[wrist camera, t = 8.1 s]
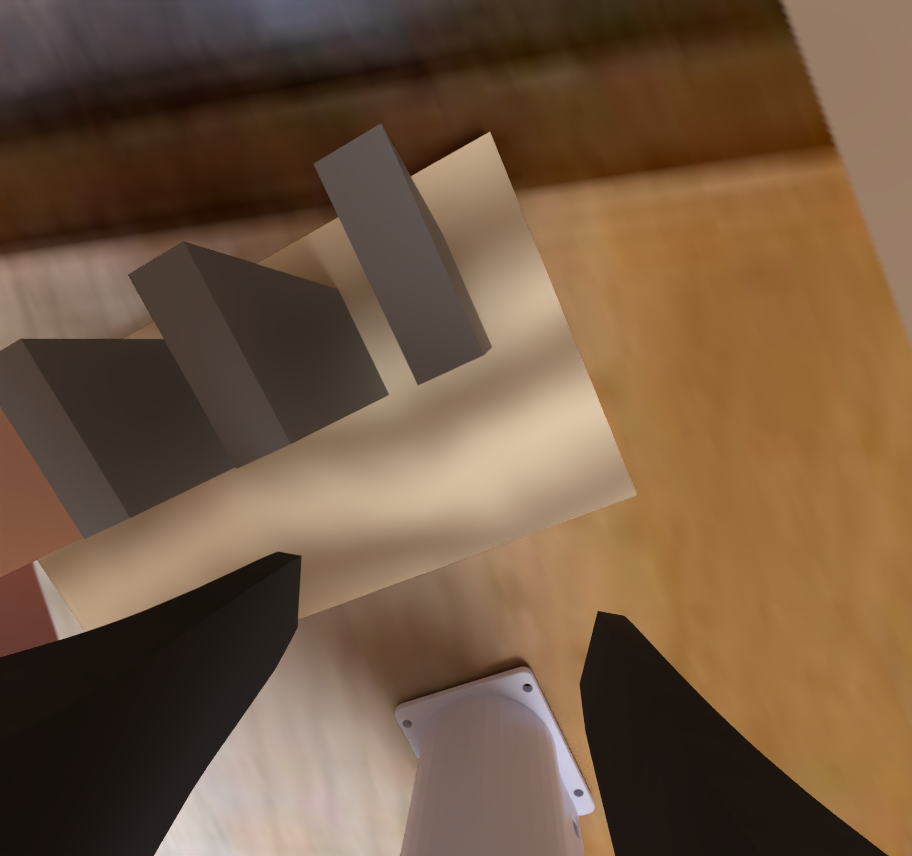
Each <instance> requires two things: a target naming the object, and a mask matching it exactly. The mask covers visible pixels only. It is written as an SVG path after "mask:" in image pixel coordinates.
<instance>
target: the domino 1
mask: <svg viewBox="0 0 912 856" xmlns="http://www.w3.org/2000/svg"><path fill="white" fill-rule="evenodd" d="M82 538H83V536H82V535H81V533H80V531H79V530H78V528H77V527H76V525H75V524H74V522H73V520H72V519H71V517H70V516H69V514H68V513H67V511H66V509H65V508H64V506H63V505H62V503H61V502H60V500H59V498H58V497H57V495H56V494H55V492H54V491H53V489H52V487H51V486H50V484H49V483H48V481H47V480H46V478H45V476H44V475H43V473H42V472H41V470H40V468H39V467H38V465H37V464H36V462H35V461H34V459H33V457H32V456H31V454H30V453H29V451H28V450H27V448H26V446H25V445H24V443H23V442H22V440H21V439H20V437H19V435H18V434H17V432H16V431H15V429H14V428H13V426H12V424H11V423H10V421H9V420H8V418H7V417H6V415H5V413H4V412H3V410H2V409H1V407H0V577H2V576H4V575H6V574H8V573H10V572H12V571H14V570H16V569H19V568H21V567H23V566H25V565H27V564H29V563H31V562H33V561H35V560H37V559H40V558H42V557H44V556H46V555H48V554H50V553H52V552H54V551H56V550H58V549H61V548H63V547H65V546H67V545H69V544H71V543H73V542H75V541H77V540H80V539H82Z"/></svg>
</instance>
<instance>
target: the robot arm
mask: <svg viewBox="0 0 912 856" xmlns="http://www.w3.org/2000/svg"><path fill="white" fill-rule="evenodd" d="M301 559H302V556H300V555H295V554H290V553H284V552H279V551H278V552H275V553H273V554H270V555H268V556H265V557H263V558H261V559H259V560H256V561H254V562H252V563H250V564H248V565H246V566H243V567H241V568H239V569H237V570H235V571H233V572H231V573H229V574H226V575H224V576H222V577H220V578H218V579H216V580H214V581H211V582H209V583H207V584H205V585H203V586H201V587H198V588H196V589H194V590H192V591H189V592H187V593H185V594H182V595H180V596H177V597H175V598H173V599H170V600H168V601H166V602H163V603H161V604H159V605H156V606H154V607H151V608H149V609H147V610H144V611H142V612H139V613H137V614H134V615H132V616H129V617H126V618H124V619H121V620H118V621H115V622H113V623H110V624H107V625H104V626H101V627H98V628H95V629H92V630H90V631H87V632H84V633H81V634H78V635H75V636H72V637H69V638H65V639H62V640H59V641H55V642H52V643H48V644H45V645H42V646H38V647H35V648H31V649H28V650H24V651H21V652H18V653H14V654H11V655H7V656H4V657H0V856H154V854H155V853H156V851H157V849H158V847H159V846H160V844H161V842H162V841H163V839H164V837H165V836H166V834H167V832H168V830H169V829H170V827H171V825H172V824H173V822H174V820H175V818H176V817H177V815H178V813H179V812H180V810H181V808H182V807H183V805H184V803H185V801H186V800H187V798H188V796H189V795H190V793H191V791H192V790H193V788H194V787H195V785H196V783H197V782H198V780H199V779H200V777H201V776H202V774H203V773H204V771H205V770H206V768H207V766H208V765H209V764H210V762H211V761H212V759H213V758H214V756H215V755H216V754H217V752H218V751H219V749H220V748H221V746H222V745H223V744H224V742H225V741H226V739H227V738H228V736H229V735H230V733H231V732H232V731H233V729H234V728H235V726H236V725H237V723H238V722H239V721H240V719H241V718H242V716H243V715H244V713H245V712H246V711H247V709H248V708H249V706H250V705H251V703H252V702H253V701H254V699H255V698H256V696H257V695H258V693H259V692H260V690H261V689H262V687H263V686H264V685H265V683H266V682H267V680H268V679H269V677H270V676H271V674H272V673H273V671H274V670H275V668H276V667H277V665H278V663H279V661H280V659H281V658H282V656H283V654H284V652H285V650H286V649H287V647H288V645H289V643H290V641H291V639H292V637H293V635H294V633H295V631H296V629H297V627H298V610H299V593H300V576H301ZM524 684H530V686H525V685H524ZM580 690H581V699H582V708H583V716H584V723H585V731H586V735H587V740H588V744H589V748H590V753H591V757H592V761H593V765H594V770H595V774H596V778H597V782H598V786H599V790H600V795H601V799H602V803H603V807H604V811H605V815H606V819H607V824H608V828H609V832H610V836H611V840H612V844H613V848H614V853H615V856H888V855H887V854H885V853H884V852H883V851H881V850H880V849H879V848H877V847H876V846H875V845H873V844H872V843H871V842H870V841H868V840H867V839H866V838H864V837H863V836H862V835H861V834H859V833H858V832H857V831H855V830H854V829H853V828H851V827H850V826H849V825H848V824H846V823H845V822H844V821H842V820H841V819H840V818H838V817H837V816H836V815H835V814H833V813H832V812H831V811H830V810H828V809H827V808H826V807H825V806H823V805H822V804H821V803H820V802H818V801H817V800H816V799H815V798H813V797H812V796H811V795H810V794H809V793H807V792H806V791H805V790H804V789H803V788H801V787H800V786H799V785H798V784H797V783H796V782H794V781H793V780H792V779H791V778H790V777H789V776H787V775H786V774H785V773H784V772H783V771H782V770H780V769H779V768H778V767H777V766H776V765H775V764H773V763H772V762H771V761H770V760H769V759H768V758H766V757H765V756H764V755H763V754H762V753H761V752H760V751H758V750H757V749H756V748H755V747H754V746H753V745H752V744H751V743H750V742H748V741H747V740H746V739H745V738H744V737H743V736H742V735H741V734H740V733H739V732H738V731H737V730H736V729H735V728H734V727H733V726H731V725H730V724H729V723H728V722H727V721H726V720H725V719H724V718H723V717H722V716H721V715H720V714H719V713H718V712H717V711H716V710H715V709H714V708H713V707H712V706H711V705H710V704H709V703H708V702H707V701H706V700H705V699H704V698H703V697H702V696H701V695H700V694H699V693H698V692H697V691H696V690H695V689H694V688H693V687H692V686H691V685H690V684H689V683H688V682H687V681H686V680H685V679H684V678H683V677H682V676H681V675H680V674H679V673H678V672H677V671H676V670H675V669H674V667H673V666H672V665H671V664H670V663H669V662H668V661H667V660H666V659H665V658H664V657H663V656H662V655H661V654H660V653H659V651H658V650H657V649H656V648H655V647H654V646H653V645H652V644H651V643H650V642H649V641H648V640H647V639H646V637H645V636H644V635H643V634H642V633H641V632H640V631H639V630H638V629H637V628H636V627H635V626H634V625H633V624H632V623H631V622H630V621H629V620H628V619H627V618H626V617H625V616H622V615H617V614H611V613H606V612H601V611H598V613H597V617H596V621H595V625H594V629H593V633H592V637H591V641H590V645H589V649H588V653H587V657H586V661H585V665H584V669H583V673H582V677H581V681H580ZM395 718H396V720H397V722H398V724H399V725H400V727H401V729H402V731H403V733H404V735H405V736H406V738H407V740H408V742H409V744H410V745H411V747H412V749H413V751H414V753H415V755H416V756H417V758H418V760H419V762H418V767H417V772H416V777H415V782H414V787H413V792H412V797H411V803H410V808H409V813H408V818H407V823H406V828H405V833H404V838H403V843H402V849H401V854H400V856H585V854H584V848H583V842H582V835H581V829H580V823H579V817H578V816H581V815H585V814H589V813H591V812H592V811H593V810H594V808H595V806H594V801H593V797H592V795H591V793H590V791H589V789H588V787H587V785H586V783H585V781H584V779H583V777H582V774H581V772H580V770H579V768H578V766H577V764H576V762H575V760H574V758H573V756H572V754H571V752H570V749H569V747H568V745H567V743H566V741H565V739H564V737H563V735H562V733H561V731H560V729H559V727H558V724H557V722H556V720H555V718H554V716H553V714H552V712H551V710H550V708H549V706H548V704H547V702H546V700H545V697H544V695H543V693H542V691H541V689H540V687H539V685H538V683H537V681H536V679H535V677H534V675H533V672H532V671H531V670H530V669H529V668H527V667H518V668H515V669H512V670H508V671H505V672H502V673H499V674H495V675H492V676H489V677H486V678H482V679H479V680H476V681H473V682H470V683H466V684H463V685H460V686H457V687H453V688H450V689H447V690H444V691H440V692H437V693H434V694H431V695H427V696H424V697H421V698H418V699H415V700H411V701H408V702H405V703H402V704H399V705H398V706H397V707H396V711H395ZM406 720H409V721H406Z"/></svg>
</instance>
